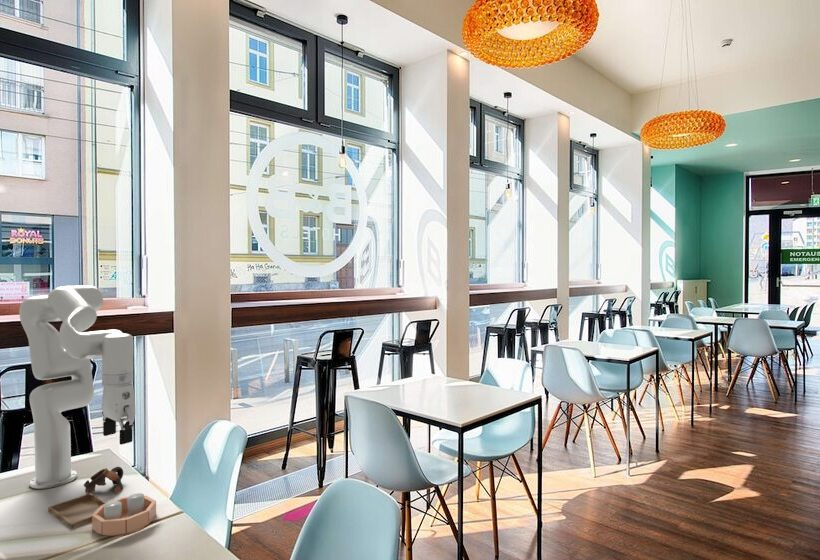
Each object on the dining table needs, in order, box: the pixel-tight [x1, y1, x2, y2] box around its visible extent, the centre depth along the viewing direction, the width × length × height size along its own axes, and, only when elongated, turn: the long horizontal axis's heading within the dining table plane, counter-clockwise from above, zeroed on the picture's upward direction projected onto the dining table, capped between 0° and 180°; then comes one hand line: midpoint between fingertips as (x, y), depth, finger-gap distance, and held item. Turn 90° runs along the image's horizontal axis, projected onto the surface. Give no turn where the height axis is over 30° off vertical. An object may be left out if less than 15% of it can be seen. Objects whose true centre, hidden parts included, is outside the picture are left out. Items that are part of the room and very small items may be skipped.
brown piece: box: [83, 466, 124, 495], centre depth 156 cm, size 12×10×8 cm
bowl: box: [91, 495, 157, 537], centre depth 136 cm, size 14×14×4 cm
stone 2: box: [127, 492, 145, 517], centre depth 138 cm, size 4×4×6 cm
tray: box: [47, 492, 108, 530], centre depth 142 cm, size 16×11×2 cm
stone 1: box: [104, 500, 122, 520], centre depth 134 cm, size 4×4×6 cm
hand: (117, 438), depth 142 cm, fingers open, 9 cm apart
